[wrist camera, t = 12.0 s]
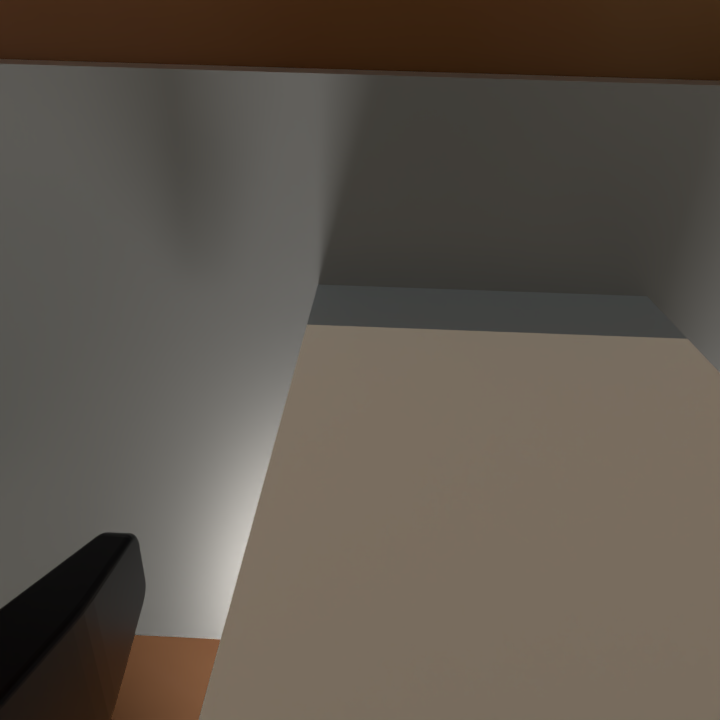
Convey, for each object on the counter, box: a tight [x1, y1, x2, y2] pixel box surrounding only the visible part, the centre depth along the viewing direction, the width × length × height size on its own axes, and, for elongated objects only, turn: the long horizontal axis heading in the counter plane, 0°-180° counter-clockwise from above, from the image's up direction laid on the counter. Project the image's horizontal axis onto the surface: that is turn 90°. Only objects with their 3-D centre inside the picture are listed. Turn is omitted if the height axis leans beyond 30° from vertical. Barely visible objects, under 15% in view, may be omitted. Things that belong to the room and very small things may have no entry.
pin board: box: [0, 59, 720, 639], centre depth 8 cm, size 11×20×9 cm, turn 89°
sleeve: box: [199, 285, 720, 720], centre depth 8 cm, size 5×5×8 cm
